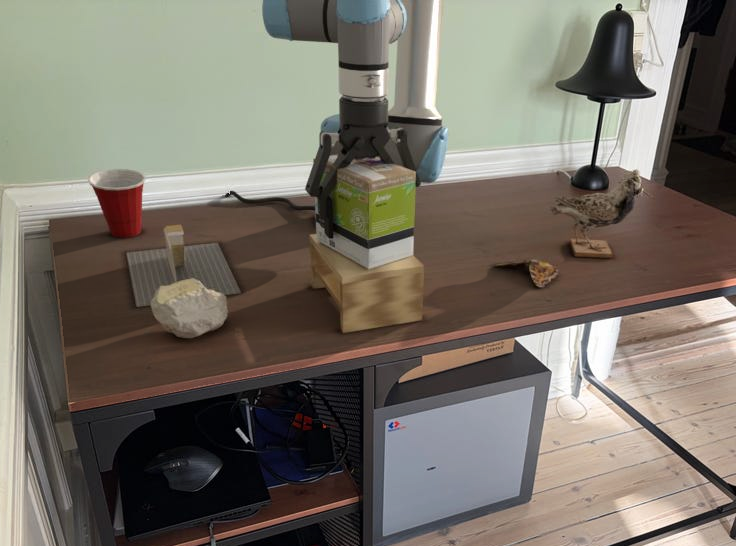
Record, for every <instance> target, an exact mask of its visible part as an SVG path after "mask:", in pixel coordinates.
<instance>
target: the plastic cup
mask: <svg viewBox="0 0 736 546" xmlns="http://www.w3.org/2000/svg"><path fill="white" fill-rule="evenodd" d="M146 179H147V178H146V175H145V174H144V173H142V172H140V171H138V170H135V169H129V168H109V169H104V170H99V171H96V172H94V173H92V174H90V175H89V176H88V178H87V181H88V183H89V185H90V186H91V187H92V190H93V191H94V193H95V196H96V198H97V200H98V203H99V206H100V209H101V212H102V214H103V217H104V219H105V221H106V223H107V226H108V229H109V231H110V233H111V235H112V236H113V237H116V238H132V237H135V236H137V235H139V234H140V233H141V232H142V216H143V192H144V184H145V181H146Z"/></svg>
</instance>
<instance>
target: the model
mask: <svg viewBox="0 0 736 546" xmlns="http://www.w3.org/2000/svg"><path fill="white" fill-rule="evenodd" d="M163 235H164V241H165V248H164V249H166V255H167V262H168V265H169V268H170V271H171V275H172V278H173V280H174V281H177V280H178V279H177V272H176V267H180V266H183V267H184V266H185V261H186V260H187V257H186V249H185V242H184V236H183V235H185V232H184V228H183V226H182V224H175V225H174V224H173V225H166V226H164V228H163Z"/></svg>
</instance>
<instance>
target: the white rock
mask: <svg viewBox="0 0 736 546" xmlns="http://www.w3.org/2000/svg"><path fill="white" fill-rule="evenodd" d="M227 298H228V297H227V295H224V294H223V293H218V292H215V291H214V290H211V289H206V288H205V287H204V286H203V284H202V283H201V282H200V281H199V280H195V279H194V278H191V279H186V280H182V281H179V282H176V283H173V284H171V285H169V286H161V287H159V288H158V289H157V290H156V293H155V296H154V298H153V299H152V301H151V303H150V305H149V306H150V308H151V311H152V314H153V316H154V318H155V320H156V321H157V322H159V323H160V325H161V327H162V329H163V330H164V331H166V332H167V333H171V334H174V335H175V336H176V337H178V338H183V339H194V338H197V337H199V336H202V335H203V334H206V333H208V332H212V331H213V332H214V331H215V330H218V329H219V328H221V327H222V326H223V325H224V322H225V321H226V320H227V319H228V314H229V310H228V300H227Z"/></svg>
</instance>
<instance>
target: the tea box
mask: <svg viewBox="0 0 736 546" xmlns="http://www.w3.org/2000/svg"><path fill="white" fill-rule="evenodd" d="M337 157H338V154H337V155H332V156H330V157H329V159H328V162H327V165H326V168H325V171H324V174H323V177H322V180H321V182H322V181H323V179H324V177H325V176H326V174H327V173H328V172H330V171H332V170H334V169H336V168H335V166H334V165H333V163H334V162H335V160H336V159H337ZM312 160H313V162H312V164H313V163H314V160H315V158H313V159H312ZM415 180H416V172H415V171H412V170H409V169H407V168H404V167H402V166H399V165H397V164H385V163H384V162H383V161H381V160H380V158H379V157H375V158H374V159H370V158H364V159H361V160H356V159H355V158H354V159H353V161H352V162H351V164H349V165H348V166H347V167H346V168H341V169H338V170H337V183H336V185H335V186H334V188H333V190H332V191H331V193H330V194H329V197H330V198H331V199H332V200H333V236H334V238H333V239H329V238H328V237H327V236H326V234H325V233H324V218H321V217H320V216H319V214H318V202H317V197H314V206H315V210H314V214H315V213H316V223H315V231H316V232H315V234H317V240H318V242H321V243H323V244H325V245H327V246H329V247H330V248H332V249H334V250H335V251H337V252H339V253H341V254H343V255H344V256H346V257H348V258H350V259H351V260H353V261H355V262H357V263H358V264H360V265H362V266H363V267H365V268H366V269H372V268H375V267H378V266H382V265H385V264H388V263H391V262H394V261H398V260H401V259H404V258H407V257H410V256H412V255H413V256H414V243H415V242H414V239H415V237H414V236H415V215H416V212H415V211H416V210H415V208H416V187H415ZM321 182H320V184H321Z"/></svg>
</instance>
